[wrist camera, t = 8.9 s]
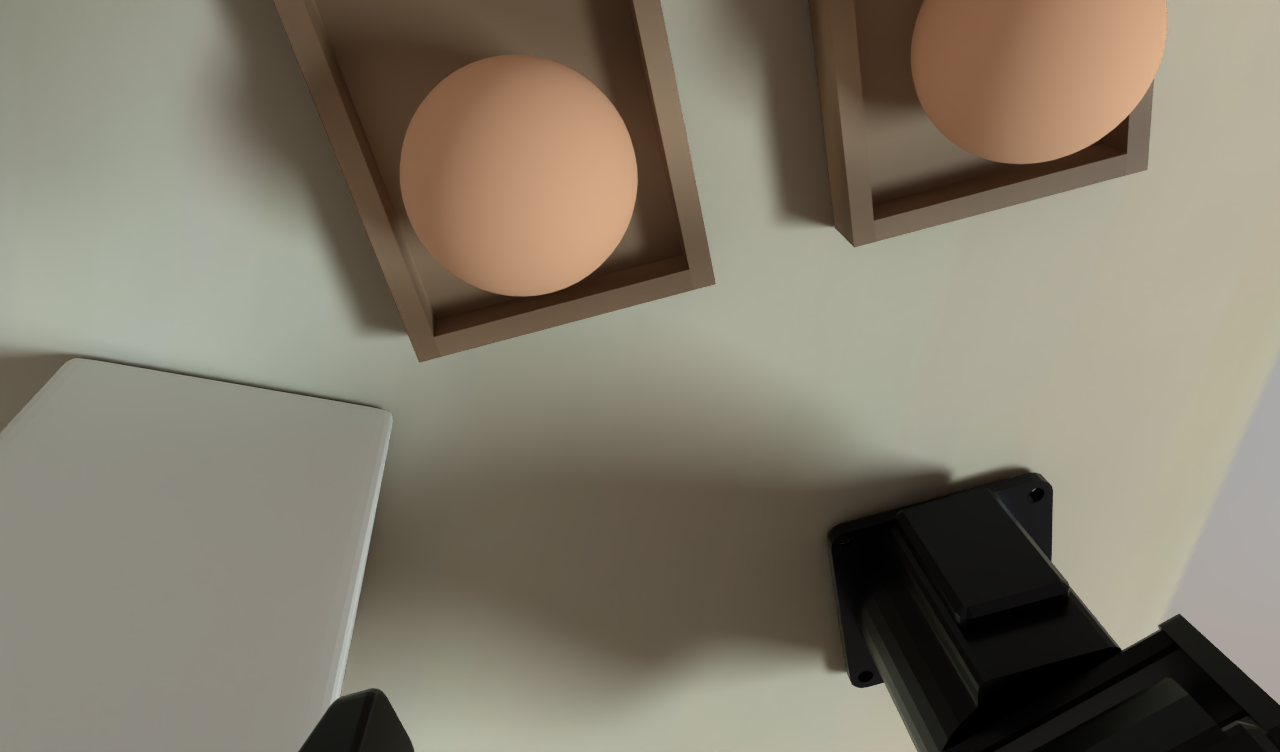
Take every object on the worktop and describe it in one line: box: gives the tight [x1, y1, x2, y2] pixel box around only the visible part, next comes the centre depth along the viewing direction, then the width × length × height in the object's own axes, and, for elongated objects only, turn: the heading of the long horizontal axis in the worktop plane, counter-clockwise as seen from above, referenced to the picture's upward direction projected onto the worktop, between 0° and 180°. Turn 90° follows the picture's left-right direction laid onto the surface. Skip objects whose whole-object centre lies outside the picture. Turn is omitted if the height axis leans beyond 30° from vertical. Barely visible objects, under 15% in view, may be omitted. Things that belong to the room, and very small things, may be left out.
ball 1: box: [400, 55, 638, 296], centre depth 17 cm, size 4×4×4 cm
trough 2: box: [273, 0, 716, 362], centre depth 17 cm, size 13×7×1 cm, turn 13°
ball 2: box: [911, 0, 1167, 164], centre depth 17 cm, size 4×4×4 cm
